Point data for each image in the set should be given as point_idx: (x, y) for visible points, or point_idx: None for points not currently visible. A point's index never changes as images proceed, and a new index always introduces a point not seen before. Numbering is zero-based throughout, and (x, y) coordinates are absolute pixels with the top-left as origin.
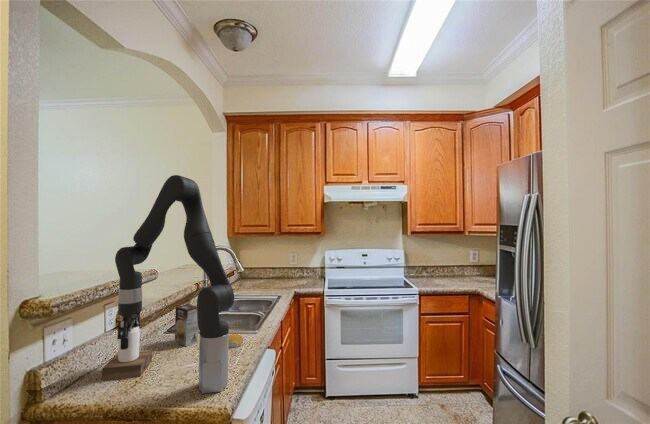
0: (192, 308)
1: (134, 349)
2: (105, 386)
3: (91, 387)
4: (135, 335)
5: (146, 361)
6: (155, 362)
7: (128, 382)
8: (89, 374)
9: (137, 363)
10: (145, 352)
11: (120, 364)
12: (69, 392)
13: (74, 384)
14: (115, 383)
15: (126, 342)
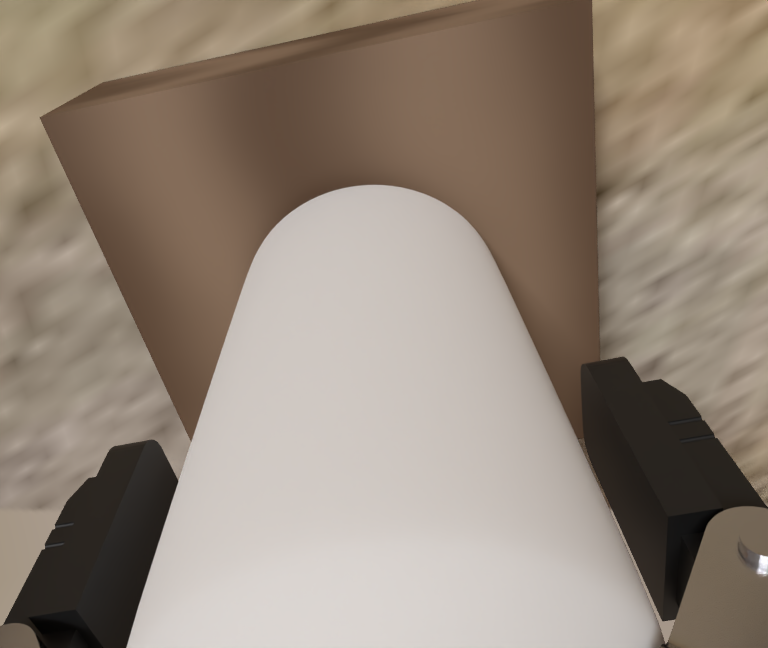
0: None
1: (466, 266)
2: (712, 254)
3: (697, 359)
4: (512, 452)
5: (316, 48)
6: (119, 4)
7: (682, 56)
8: None
9: (531, 87)
10: (116, 196)
11: (530, 308)
12: (738, 457)
13: (606, 500)
14: (670, 194)
15: (672, 456)
